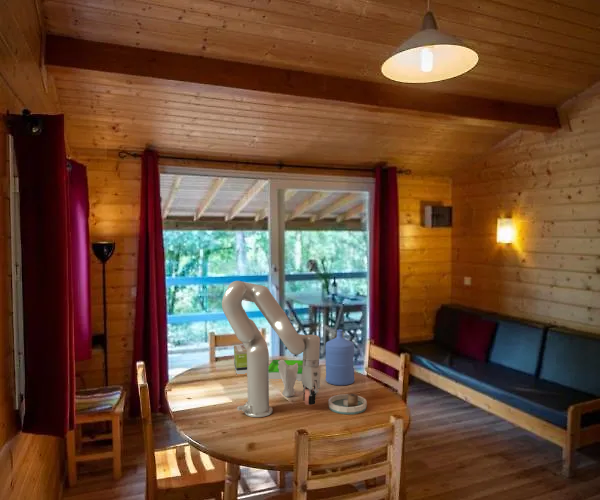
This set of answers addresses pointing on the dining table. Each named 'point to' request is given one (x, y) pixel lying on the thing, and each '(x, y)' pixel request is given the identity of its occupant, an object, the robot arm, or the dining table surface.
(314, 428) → the dining table surface
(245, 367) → the tea box
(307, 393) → the coral bead
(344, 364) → the water jug
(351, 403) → the walnut bead
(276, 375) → the tray
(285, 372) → the shell sculpture
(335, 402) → the groove dish
